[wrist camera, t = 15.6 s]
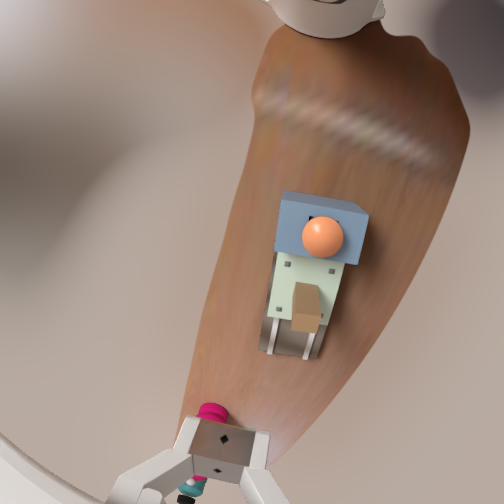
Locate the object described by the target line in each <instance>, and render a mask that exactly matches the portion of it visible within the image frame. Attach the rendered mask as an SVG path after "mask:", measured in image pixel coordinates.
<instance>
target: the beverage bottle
mask: <svg viewBox="0 0 504 504" xmlns="http://www.w3.org/2000/svg"><path fill="white" fill-rule="evenodd" d="M206 481H207V479H205V480H202V481H196V483H195V485H193V486H190V485H188V484H187V483H186V482H185V483H184V484H182V485H181V486H180V487H178V489H179V491H180V492H181V493H183V494H185V495H178V499H177V502H178V503H179V504H194V503H195V499H193V498H191V497H198V496H200V495H202V493H203V489H204V486H205V483H206ZM186 495H187V496H186ZM189 496H191V497H189Z"/></svg>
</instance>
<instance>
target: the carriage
mask: <svg viewBox="0 0 504 504" xmlns="http://www.w3.org/2000/svg"><path fill="white" fill-rule="evenodd" d="M344 265H345V263H342V262H336V261H330V260H324V259H318V258H312V257H306V256H300V255H294V254H288V253H282V252H278V255H277V261H276V267H275V273H274V279H273V285H272V291H271V296H270V302H269V308H268V313H267V316H269V317H275V318H281V319H287V320H291V330H294V331H300V332H307V333H314V334H317V330H318V327H319V324H321V325H328V323H329V319H330V316H331V312H332V309H333V306H334V302H335V299H336V295H337V291H338V288H339V284H340V280H341V276H342V273H343V269H344Z"/></svg>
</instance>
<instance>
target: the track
mask: <svg viewBox="0 0 504 504" xmlns="http://www.w3.org/2000/svg"><path fill="white" fill-rule="evenodd" d="M277 255H278V252H276V251H274V257H273V264H272V270H271V276H270V282H269V288H268V294H267V300H266V306H265V312H264V318H263V324H262V329H261V335H260V341H259V346H258V350H261V351H267V354H271V355H272V352H273V353H279V354H285V355H292V356H299V357H303V359H304V360H307V359H308V358H314V359H316V358H317V355H318V352H319V349H320V346H321V343H322V340H323V337H324V334H325V331H326V327H327V325H321V324H319V327H318V330H317V334H314V333H307V332H300V331H294V330H291V320H287V319H281V318H275V317H269V316H267V313H268V308H269V302H270V296H271V291H272V285H273V279H274V273H275V267H276V261H277Z"/></svg>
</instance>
